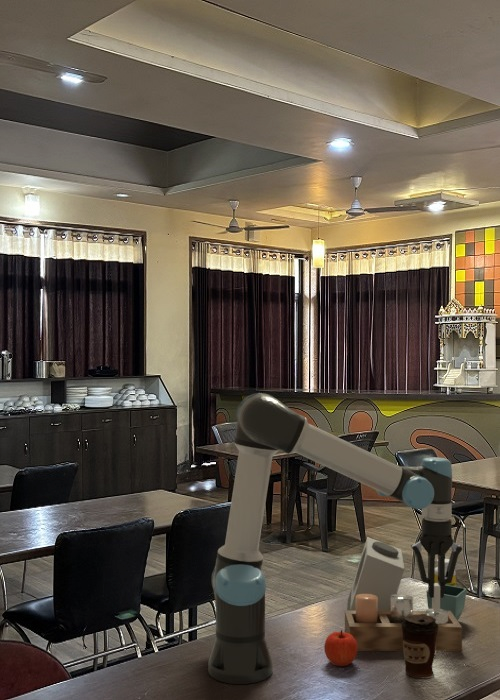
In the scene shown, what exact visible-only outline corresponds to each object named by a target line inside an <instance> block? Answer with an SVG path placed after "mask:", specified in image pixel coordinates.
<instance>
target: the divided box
mask: <svg viewBox="0 0 500 700" xmlns="http://www.w3.org/2000/svg"><path fill="white" fill-rule="evenodd" d="M447 612H448V624H438V633H437V637H436V651H435V652H462V651H463V627H462V625H461V624H460V622H459V620H458V621H457V619H456V618H455V617H454V615H453V614H452V612H451V611H447ZM417 614H418V615H426V610H413V615H417ZM344 632H345V633H349V634H351V635H352V636H353V637H354V639H355V640H356V642H357V646H358V650H357V651H360V652H361V651H371V652H372V651H373V652H374V651H375V652H376V651H378V652H380V651H381V652H385V651H386V652H387V651H388V652H393V651H394V652H395V651H397V652H398V651H400V652H403V632H402V623H391V611H378V623H356V611H351V610H347V609H346V610H344Z"/></svg>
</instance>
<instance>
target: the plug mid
mask: <svg viewBox="0 0 500 700" xmlns="http://www.w3.org/2000/svg"><path fill="white" fill-rule="evenodd" d="M413 603H414V598H413V596H412V595H409V594H406V593H397V594H394V595H391V623H402V622H403V621H404V618H405V616H408V615H413V611H414V609H413V608H414V606H413V605H414V604H413Z"/></svg>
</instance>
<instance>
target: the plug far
mask: <svg viewBox="0 0 500 700" xmlns="http://www.w3.org/2000/svg"><path fill="white" fill-rule="evenodd" d="M425 611H426V615H427V616H431V617H433V618H435V619H436V621H435V622H436V623H437V624H448V612H447V611H446V610H443V609H440V612H434V610H433V609H432V608H430V609H428V608H427V609H425Z"/></svg>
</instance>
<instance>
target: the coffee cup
mask: <svg viewBox="0 0 500 700" xmlns="http://www.w3.org/2000/svg"><path fill="white" fill-rule="evenodd" d="M435 621H436V619H435V618H433V617H431V616H427V615H418V614H417V615H408V616H405V618H404V621H403V622H402V632H403V651H402V653H403V658H404V664H405V665H404V666H405V669H404V671H405V673H406V675H408V676H410V677H412V678H418V679H428V678H429V679H430V678H433V676H434V675H435V674H434V671H433V664H434V659H435V657H436V652H437V651H436V637H437V633H438V624H437V623H436V622H435Z"/></svg>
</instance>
